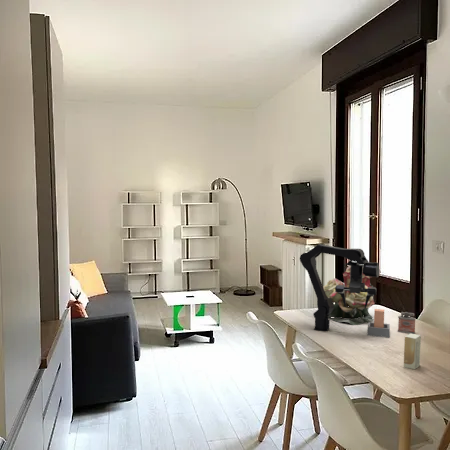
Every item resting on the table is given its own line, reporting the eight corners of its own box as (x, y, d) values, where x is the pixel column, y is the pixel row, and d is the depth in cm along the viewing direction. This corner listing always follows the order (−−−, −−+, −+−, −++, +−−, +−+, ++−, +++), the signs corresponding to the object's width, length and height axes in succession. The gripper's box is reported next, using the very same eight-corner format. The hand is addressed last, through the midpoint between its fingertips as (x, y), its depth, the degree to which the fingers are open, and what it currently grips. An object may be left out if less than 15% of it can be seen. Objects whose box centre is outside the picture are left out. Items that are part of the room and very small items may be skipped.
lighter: (397, 332, 244) (398, 311, 243) (398, 330, 247) (399, 310, 246) (414, 334, 240) (415, 314, 240) (415, 332, 243) (416, 312, 243)
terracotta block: (373, 333, 238) (374, 310, 238) (373, 331, 243) (374, 308, 242) (383, 334, 237) (384, 311, 236) (383, 332, 241) (384, 309, 241)
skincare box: (408, 363, 197) (410, 332, 196) (420, 365, 194) (421, 334, 194) (402, 367, 192) (404, 336, 191) (414, 369, 189) (415, 338, 189)
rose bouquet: (314, 316, 274) (316, 262, 272) (356, 312, 286) (358, 260, 285) (344, 327, 251) (346, 268, 249) (388, 322, 263) (390, 266, 262)
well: (367, 335, 237) (367, 327, 236) (368, 330, 246) (368, 322, 246) (389, 337, 234) (389, 329, 233) (389, 332, 243) (389, 324, 243)
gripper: (334, 276, 231) (333, 309, 232) (376, 279, 226) (375, 313, 226) (336, 273, 242) (335, 304, 243) (376, 275, 236) (375, 308, 237)
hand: (355, 307), depth 237 cm, fingers open, 9 cm apart
